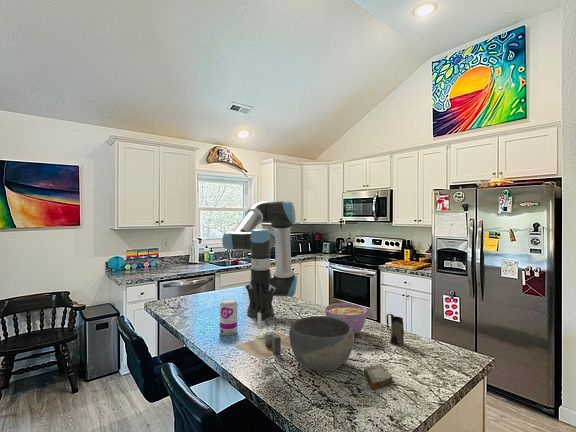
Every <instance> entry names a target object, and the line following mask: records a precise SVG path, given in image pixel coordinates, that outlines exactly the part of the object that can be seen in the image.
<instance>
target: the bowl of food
mask: <svg viewBox="0 0 576 432" xmlns="http://www.w3.org/2000/svg"><path fill="white" fill-rule="evenodd" d="M324 311H325V316H326V317H332V318H336V319H340V320H343V321H345V322H347V323H348V324H349V325H350V326H351V327H352V329H353V331H354V335H355V334H358V333H360V332H361V331H362V330H363V329H364V326H365V325H364V324H365V323H366V317H367V313H368V308H366V307H364V306H362V305H359V304H353V303H344V302H342V303H341V302H339V303H332V304H328V305H326V306H325V307H324Z"/></svg>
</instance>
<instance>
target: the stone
mask: <svg viewBox="0 0 576 432" xmlns="http://www.w3.org/2000/svg"><path fill="white" fill-rule="evenodd" d="M363 376H364V379H365V380H366V382H367V384H368V386H369V387H370V390H371V391H375V392H376V391H378V390H381V389H384V388H386V387H388V386H391V385H393V376H392V374H391V373H390V372H389V371H388V370H386V368H384V366H383V365H382V364H379V363H378V364H373V365H369V366H366V367H364V369H363Z"/></svg>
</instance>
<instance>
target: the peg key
mask: <svg viewBox="0 0 576 432" xmlns="http://www.w3.org/2000/svg"><path fill="white" fill-rule="evenodd" d="M262 333H263V334H262V335H265V345H267V346H272V350H273V352H274V353H278V354H280V353H282V352H281V337H280V336H279V335H278V334H275V333H276V332H275V331H266V332H265V331H262Z"/></svg>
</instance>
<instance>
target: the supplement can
mask: <svg viewBox="0 0 576 432" xmlns="http://www.w3.org/2000/svg"><path fill="white" fill-rule="evenodd" d="M219 332H220V334H221V335H222V336H233V335H235V334H236V333H237V332H238V302H237V300H235V299H231V298H230V299H223V300H221V301H220V304H219Z"/></svg>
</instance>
